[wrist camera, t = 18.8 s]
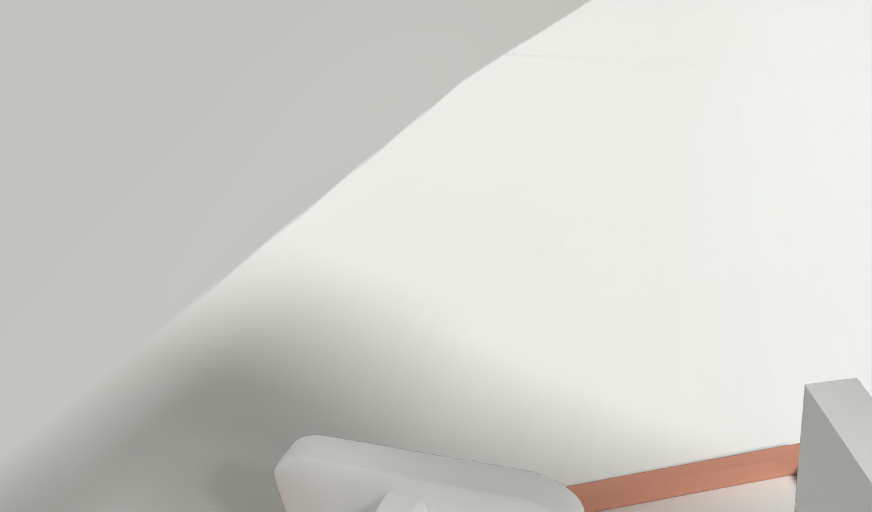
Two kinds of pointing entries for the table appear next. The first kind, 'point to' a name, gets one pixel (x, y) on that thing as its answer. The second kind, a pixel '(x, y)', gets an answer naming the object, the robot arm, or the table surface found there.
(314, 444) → the cable organizer
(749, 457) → the divided tray
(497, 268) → the table surface
